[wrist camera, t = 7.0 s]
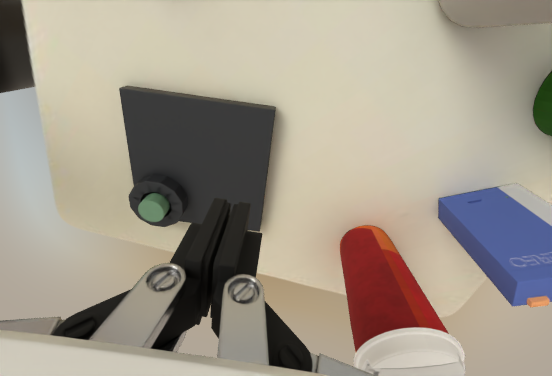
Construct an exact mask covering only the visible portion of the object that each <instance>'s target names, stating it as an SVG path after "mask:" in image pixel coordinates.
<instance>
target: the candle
mask: <svg viewBox="0 0 552 376" xmlns="http://www.w3.org/2000/svg"><path fill="white" fill-rule="evenodd" d="M533 116H534V120H535V123H536V125H537V126H538V128H539V129H540V130H541V131H542V132H544V133H545V134H547V135H550V136H552V72H551V73H550V74H549V75H548V77H547V78H546V79H545V81H544V82H543V84H542V86H541V87H540V89H539V91H538V93H537V96H536V98H535V102H534V107H533Z"/></svg>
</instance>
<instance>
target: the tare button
mask: <svg viewBox="0 0 552 376" xmlns="http://www.w3.org/2000/svg"><path fill="white" fill-rule="evenodd" d="M169 208H170V204H169V201H168V199H167V198H166V197H165V196H163V195H161V194H159V193H151V194H148V195H147V196H146V197H145V198H144V199H143V201H142V202H141V203H140V204H139V206H138V211H139V214H140V215H141V216H142V217H143V218H144V219H145V220H147V221H150V222H158V221H160V220H162V219H163V217H164V216H165V214H166V213H167V212H168V210H169Z"/></svg>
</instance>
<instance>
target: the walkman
mask: <svg viewBox="0 0 552 376" xmlns="http://www.w3.org/2000/svg"><path fill="white" fill-rule="evenodd" d="M438 218H439V219H440V220H441V222H442V223H443V224H444V225H445V226H446V228H447V229H448V230H449V231H450V232H451V234H452V235H453V236H454V237H455V238H456V240H457V241H458V242H459V243H460V244H461V246H462V247H463V248H464V249H465V250H466V252H467V253H468V254H469V255H470V256H471V257H472V259H473V260H474V261H475V262H476V263H477V265H478V266H479V267H480V268H481V269H482V271H483V272H484V273H485V274H486V275H487V277H488V278H489V279H490V280H491V281H492V282H493V284H494V285H495V286H496V287H497V289H498V290H499V291H500V292H501V293H502V294H503V296H504V297H505V298H506V299H507V300H508V302H509V303H510V304H511V305H512V306H520V305H527V304H528V305H529V306H530V307H538V306H546V305H548V304H549V302H551V301H552V205H551V204H549V203H548V202H546V201H545V200H543V199H542V198H540V197H538V196H537V195H535V194H534V193H532V192H530V191H529V190H527V189H526V188H524V187H523V186H521V185H519V184H518V183H514V184H509V185H504V186H499V187H495V188H490V189H484V190H479V191H474V192H469V193H464V194H459V195H454V196H449V197H444V198H439V215H438Z"/></svg>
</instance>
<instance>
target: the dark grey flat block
mask: <svg viewBox="0 0 552 376" xmlns="http://www.w3.org/2000/svg"><path fill="white" fill-rule="evenodd" d="M119 90H120V96H121V103H122V110H123V116H124V123H125V130H126V136H127V143H128V150H129V156H130V163H131V170H132V176H133V183H134V187H133V189H132V191H131V192H130V194H129V201H130V207H131V209H132V210H133V211H134V212H135V214H136V215H137V216H138V218H140V219H141V220H143V221H145V222H147V223H148V224H150V225H153V226H161V227H166V226H169V225H172V224H175V223H177V222H178V221H182V222H190V223H199V224H202V223H203V221H204V219H205V217H206V215H207V212H208V210H209V208H210V206H211V204H212V202H213V200H214V198H221V199H227V203H231V211H232V209H233V206H234V204H239V201H240V202H246V203H251V208H250V215H249V223H248V230H252V231H260V227H261V220H262V212H263V204H264V196H265V188H266V180H267V173H268V165H269V157H270V149H271V141H272V133H273V125H274V118H275V110H276V107H274V106H267V105H259V104H252V103H245V102H238V101H231V100H224V99H217V98H210V97H203V96H196V95H189V94H182V93H175V92H168V91H161V90H154V89H147V88H140V87H133V86H125V87H121V88H119ZM151 193H159V194H161V195H163V196H165V197H166V198H167V199H168V201H169V204H170V208H169V210H168V212H167V213H166V214H165V216H164V217H163V219H162V220H160V221H158V222H150V221H147V220H145V219H144V218H143V217H142V216H141V215H140V214H139V211H138V206H139V204H140V203H141V202H142V201H143V199H144V198H145V197H146V196H147V195H148V194H151ZM231 211H230V214H231Z"/></svg>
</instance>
